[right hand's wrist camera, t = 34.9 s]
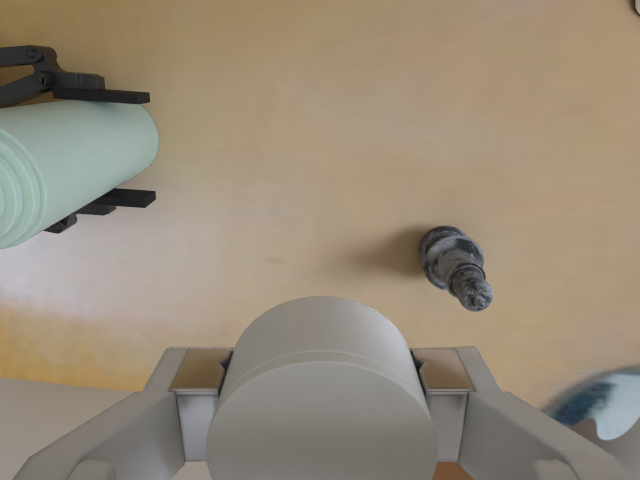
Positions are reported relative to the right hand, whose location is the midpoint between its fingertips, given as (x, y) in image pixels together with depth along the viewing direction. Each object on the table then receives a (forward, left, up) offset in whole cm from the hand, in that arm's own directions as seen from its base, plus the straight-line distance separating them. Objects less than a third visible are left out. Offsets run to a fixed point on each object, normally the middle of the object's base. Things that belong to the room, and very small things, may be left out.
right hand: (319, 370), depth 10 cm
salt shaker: (-17, 0, -35) cm, 39 cm away
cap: (0, 0, +2) cm, 2 cm away
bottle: (+15, +12, -35) cm, 40 cm away
